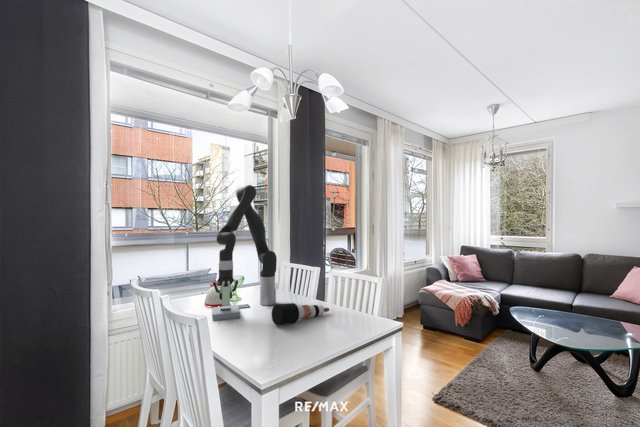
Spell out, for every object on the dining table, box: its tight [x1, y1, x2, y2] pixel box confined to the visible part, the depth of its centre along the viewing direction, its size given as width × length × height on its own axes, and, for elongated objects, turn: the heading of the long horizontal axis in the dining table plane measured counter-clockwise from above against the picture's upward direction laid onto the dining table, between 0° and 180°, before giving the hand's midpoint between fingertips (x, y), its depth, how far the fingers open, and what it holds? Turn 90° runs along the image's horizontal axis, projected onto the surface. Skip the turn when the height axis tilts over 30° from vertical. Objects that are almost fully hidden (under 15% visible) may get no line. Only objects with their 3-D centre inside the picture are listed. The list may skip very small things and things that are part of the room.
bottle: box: [271, 302, 330, 326], centre depth 166 cm, size 10×34×10 cm, turn 129°
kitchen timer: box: [204, 279, 222, 308], centre depth 195 cm, size 14×14×15 cm
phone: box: [237, 303, 251, 310], centre depth 188 cm, size 7×13×1 cm, turn 114°
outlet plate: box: [211, 304, 241, 321], centre depth 173 cm, size 14×14×3 cm
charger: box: [221, 286, 231, 307], centre depth 173 cm, size 4×4×10 cm
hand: (225, 299), depth 173 cm, fingers closed on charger, 4 cm apart
